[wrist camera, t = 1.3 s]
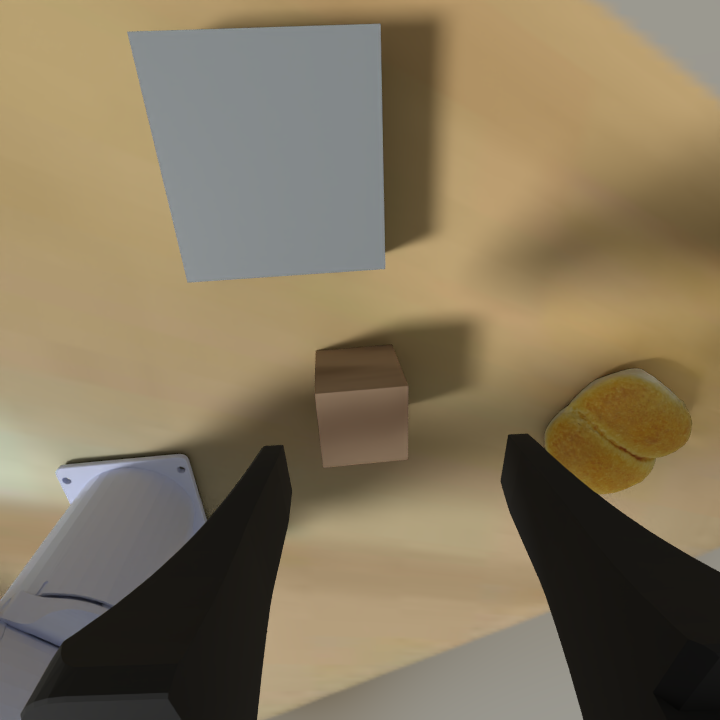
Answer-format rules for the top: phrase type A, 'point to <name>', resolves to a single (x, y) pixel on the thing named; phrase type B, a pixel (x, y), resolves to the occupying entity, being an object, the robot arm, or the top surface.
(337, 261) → the block
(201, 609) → the robot arm
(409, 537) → the top surface
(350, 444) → the walnut block
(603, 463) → the bread roll
